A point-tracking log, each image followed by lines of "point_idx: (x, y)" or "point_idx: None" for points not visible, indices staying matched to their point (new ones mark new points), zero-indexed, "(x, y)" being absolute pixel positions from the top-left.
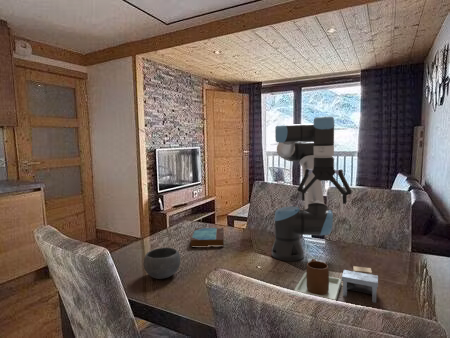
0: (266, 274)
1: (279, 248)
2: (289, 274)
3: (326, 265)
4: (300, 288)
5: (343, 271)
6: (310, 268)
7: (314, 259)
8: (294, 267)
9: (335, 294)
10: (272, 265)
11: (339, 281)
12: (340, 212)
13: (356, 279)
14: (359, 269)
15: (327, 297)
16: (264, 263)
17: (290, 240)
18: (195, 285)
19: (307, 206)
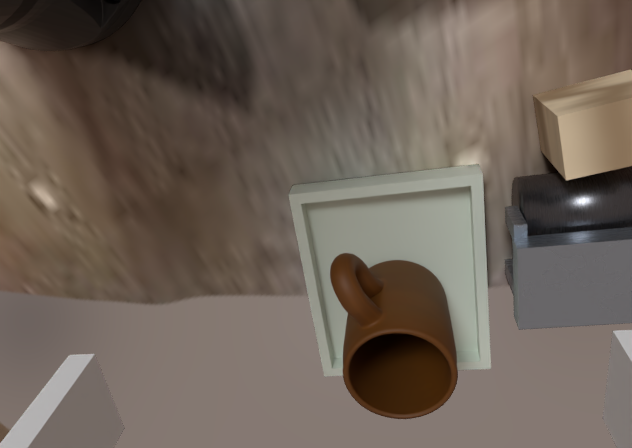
0: (131, 254)
1: (5, 40)
2: (215, 198)
3: (440, 347)
4: (327, 314)
5: (518, 270)
6: (378, 412)
7: (355, 307)
8: (189, 101)
9: (485, 333)
10: (83, 144)
11: (478, 208)
12: (605, 419)
13: (593, 323)
14: (599, 150)
15: (460, 367)
16: (34, 143)
17: (27, 7)
18: None
19: (92, 406)
